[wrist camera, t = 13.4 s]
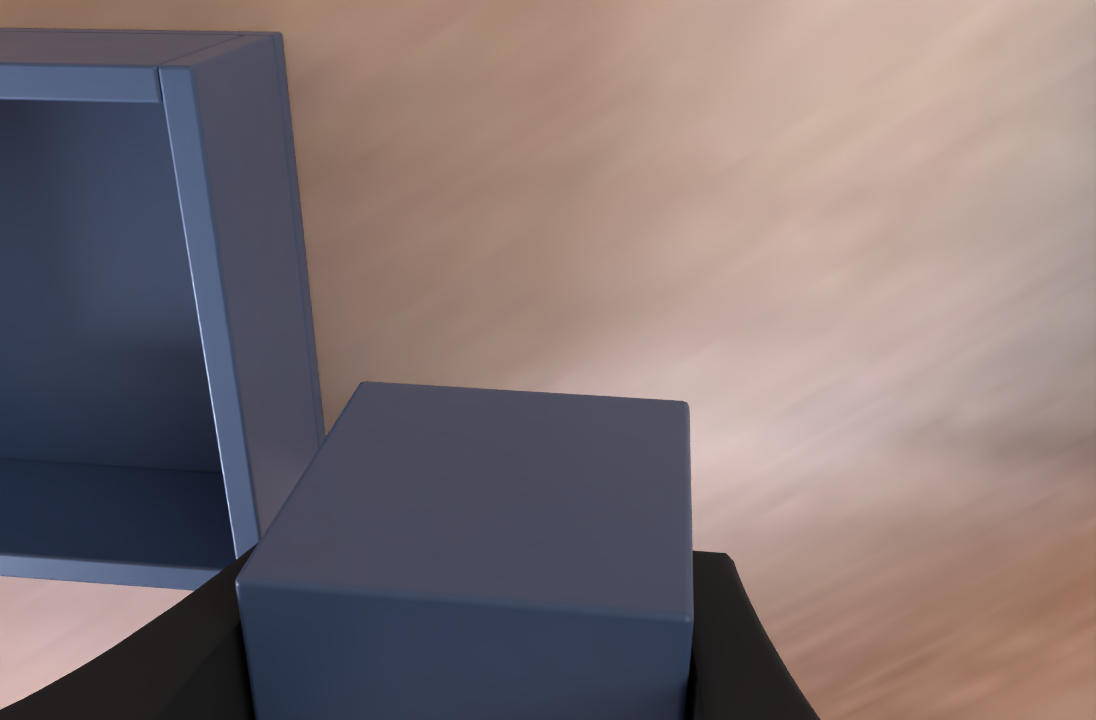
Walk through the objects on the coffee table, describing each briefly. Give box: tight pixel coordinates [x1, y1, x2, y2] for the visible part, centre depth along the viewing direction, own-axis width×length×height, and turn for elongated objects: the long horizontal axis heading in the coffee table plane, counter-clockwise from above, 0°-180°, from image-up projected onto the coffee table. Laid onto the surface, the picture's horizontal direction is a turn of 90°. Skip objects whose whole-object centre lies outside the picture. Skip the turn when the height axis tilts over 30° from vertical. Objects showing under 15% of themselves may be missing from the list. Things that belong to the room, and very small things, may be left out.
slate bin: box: [0, 28, 325, 590], centre depth 20 cm, size 10×10×4 cm
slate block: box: [235, 381, 694, 720], centre depth 13 cm, size 4×4×4 cm
